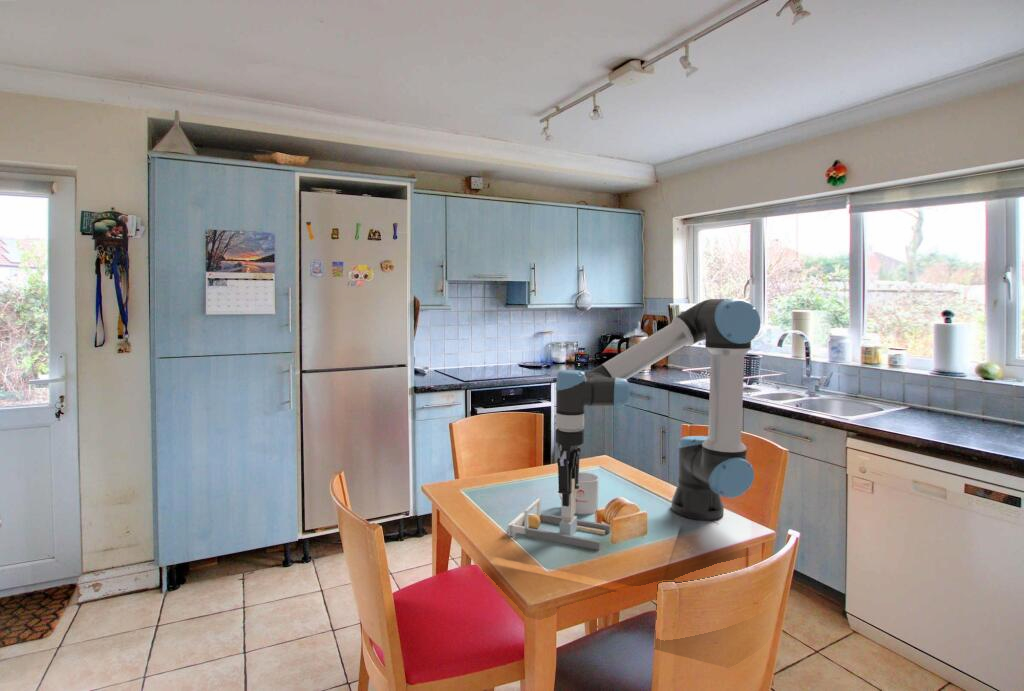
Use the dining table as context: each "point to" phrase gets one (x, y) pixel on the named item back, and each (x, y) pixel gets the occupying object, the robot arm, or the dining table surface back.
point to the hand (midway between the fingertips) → (568, 514)
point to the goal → (523, 519)
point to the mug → (586, 494)
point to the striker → (569, 524)
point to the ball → (534, 521)
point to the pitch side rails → (568, 539)
